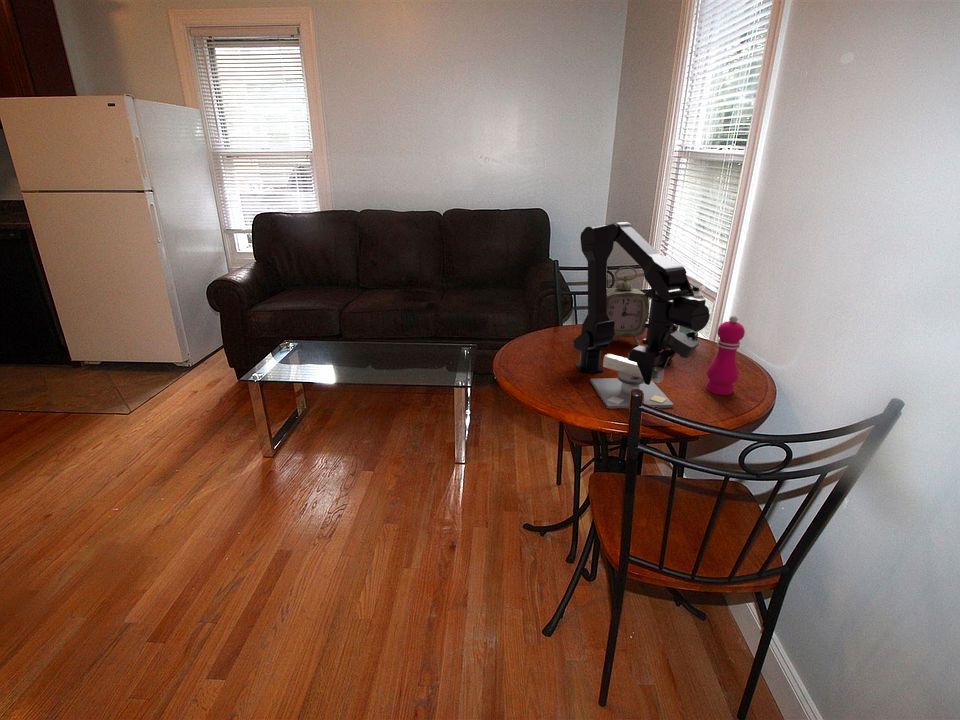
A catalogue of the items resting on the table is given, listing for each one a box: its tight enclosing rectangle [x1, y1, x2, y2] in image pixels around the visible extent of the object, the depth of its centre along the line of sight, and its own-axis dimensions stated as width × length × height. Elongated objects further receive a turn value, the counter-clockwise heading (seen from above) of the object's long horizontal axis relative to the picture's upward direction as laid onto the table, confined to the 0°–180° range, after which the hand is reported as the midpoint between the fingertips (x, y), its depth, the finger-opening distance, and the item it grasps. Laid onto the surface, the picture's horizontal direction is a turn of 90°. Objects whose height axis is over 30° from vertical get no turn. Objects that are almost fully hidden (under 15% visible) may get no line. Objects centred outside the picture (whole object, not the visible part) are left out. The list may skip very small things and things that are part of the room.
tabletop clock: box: [607, 266, 650, 346], centre depth 155 cm, size 14×9×25 cm, turn 91°
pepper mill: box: [706, 315, 746, 396], centre depth 122 cm, size 7×7×20 cm
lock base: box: [590, 377, 674, 410], centre depth 123 cm, size 16×16×4 cm
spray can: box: [678, 285, 705, 334], centre depth 151 cm, size 6×6×20 cm
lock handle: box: [602, 353, 666, 385], centre depth 122 cm, size 15×8×5 cm, turn 47°
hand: (652, 380), depth 118 cm, fingers open, 6 cm apart
